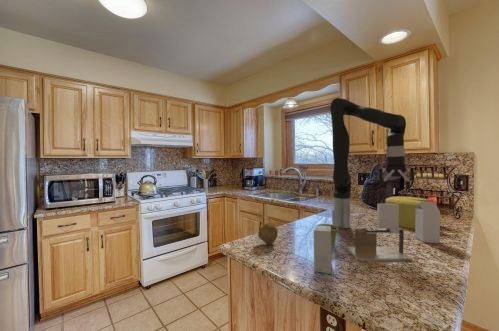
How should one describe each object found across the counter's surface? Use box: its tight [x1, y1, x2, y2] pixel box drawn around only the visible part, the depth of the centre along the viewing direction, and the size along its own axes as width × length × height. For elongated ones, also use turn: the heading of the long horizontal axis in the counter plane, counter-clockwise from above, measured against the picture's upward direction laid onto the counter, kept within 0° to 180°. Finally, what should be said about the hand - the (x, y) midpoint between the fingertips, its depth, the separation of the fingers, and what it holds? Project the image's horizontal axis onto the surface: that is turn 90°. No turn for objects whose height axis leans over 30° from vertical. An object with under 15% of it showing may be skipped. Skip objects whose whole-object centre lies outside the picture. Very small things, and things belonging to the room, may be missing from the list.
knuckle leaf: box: [376, 203, 401, 234], centre depth 94 cm, size 8×3×12 cm, turn 90°
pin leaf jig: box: [345, 228, 414, 262], centre depth 94 cm, size 21×12×11 cm, turn 90°
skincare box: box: [313, 224, 333, 275], centre depth 83 cm, size 8×6×15 cm
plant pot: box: [318, 223, 340, 248], centre depth 104 cm, size 9×9×9 cm
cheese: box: [385, 195, 435, 229], centre depth 142 cm, size 26×26×15 cm
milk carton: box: [414, 201, 441, 244], centre depth 111 cm, size 7×7×19 cm
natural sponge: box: [257, 222, 279, 246], centre depth 105 cm, size 9×9×10 cm
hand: (396, 188), depth 110 cm, fingers open, 8 cm apart
